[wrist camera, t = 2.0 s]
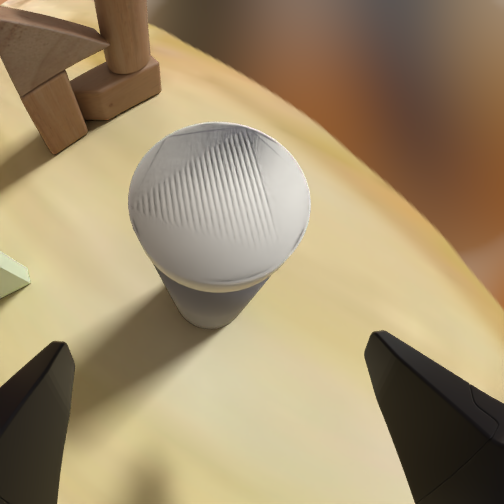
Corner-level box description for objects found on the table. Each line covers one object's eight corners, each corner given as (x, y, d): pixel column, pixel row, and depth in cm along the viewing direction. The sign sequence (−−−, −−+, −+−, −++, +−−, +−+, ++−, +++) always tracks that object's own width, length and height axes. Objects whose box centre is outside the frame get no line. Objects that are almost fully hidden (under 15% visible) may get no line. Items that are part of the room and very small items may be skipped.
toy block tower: (42, 133, 22) (-32, -39, 5) (144, 73, 25) (133, -104, 8) (54, 158, 21) (-34, -32, 4) (163, 93, 25) (159, -104, 8)
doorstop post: (258, 309, 20) (343, 233, 8) (193, 342, 19) (173, 318, 7) (225, 247, 21) (256, 105, 9) (162, 277, 20) (106, 158, 8)
